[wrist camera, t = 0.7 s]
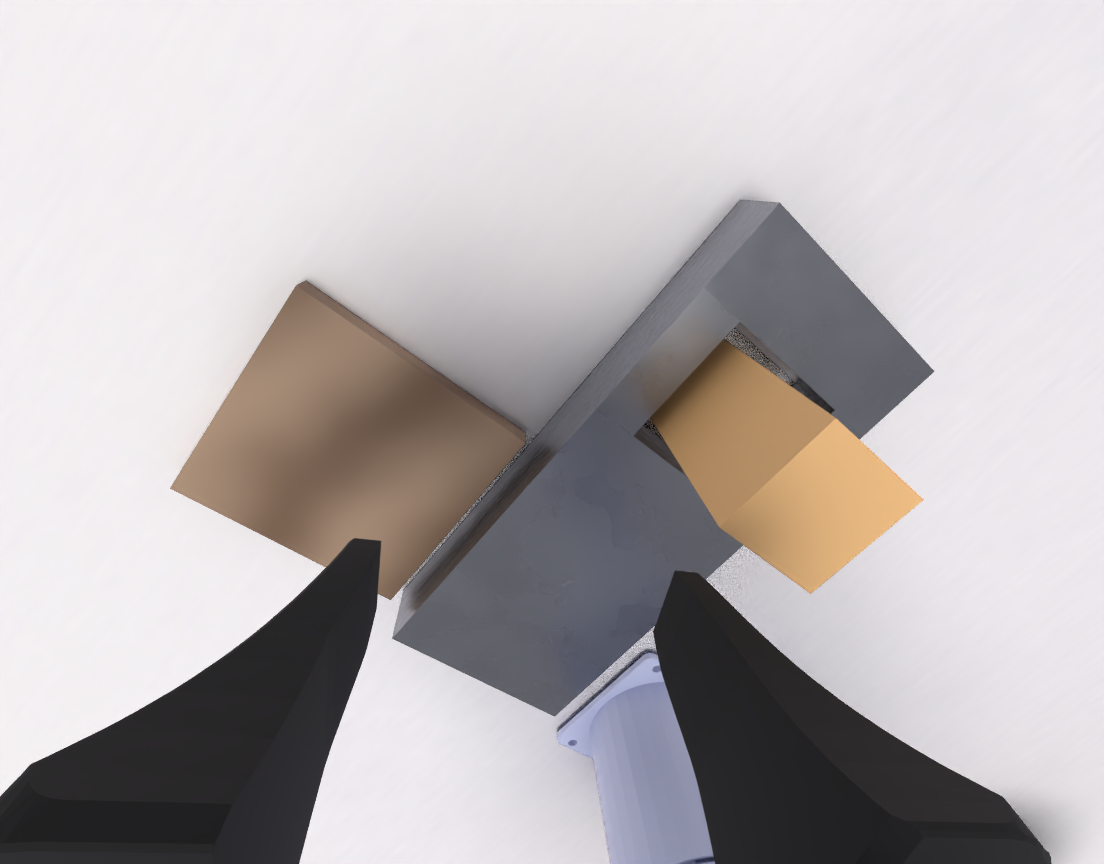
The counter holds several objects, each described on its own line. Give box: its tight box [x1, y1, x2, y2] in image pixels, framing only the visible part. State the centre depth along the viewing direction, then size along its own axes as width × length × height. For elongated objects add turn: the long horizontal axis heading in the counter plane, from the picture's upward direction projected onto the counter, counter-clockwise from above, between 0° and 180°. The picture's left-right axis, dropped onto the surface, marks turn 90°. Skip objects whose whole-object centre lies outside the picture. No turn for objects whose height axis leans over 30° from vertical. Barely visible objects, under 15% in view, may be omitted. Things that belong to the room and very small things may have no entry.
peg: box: [650, 339, 923, 594], centre depth 18 cm, size 4×4×9 cm
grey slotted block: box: [392, 200, 934, 716], centre depth 23 cm, size 9×22×3 cm, turn 141°
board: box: [170, 281, 526, 600], centre depth 22 cm, size 10×10×1 cm
